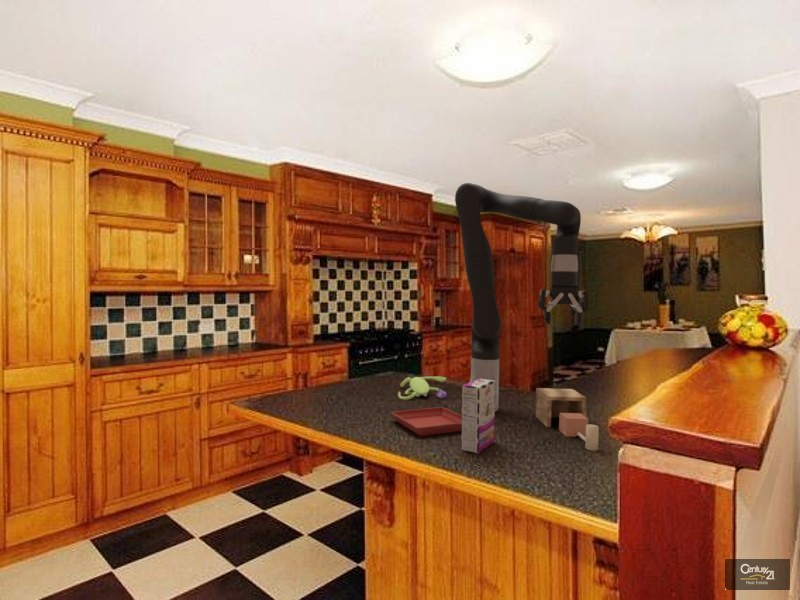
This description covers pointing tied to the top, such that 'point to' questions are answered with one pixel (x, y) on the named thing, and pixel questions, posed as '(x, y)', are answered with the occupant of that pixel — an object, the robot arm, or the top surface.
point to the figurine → (421, 387)
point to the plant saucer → (429, 420)
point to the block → (579, 429)
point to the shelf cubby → (558, 403)
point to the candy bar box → (478, 415)
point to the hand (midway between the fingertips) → (562, 324)
